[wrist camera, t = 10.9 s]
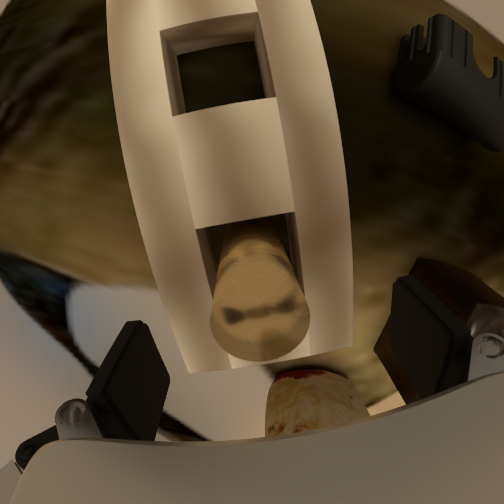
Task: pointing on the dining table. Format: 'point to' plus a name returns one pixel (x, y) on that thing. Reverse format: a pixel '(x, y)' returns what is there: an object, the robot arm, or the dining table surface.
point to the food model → (311, 402)
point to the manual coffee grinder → (458, 301)
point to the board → (233, 160)
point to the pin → (257, 295)
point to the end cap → (452, 80)
